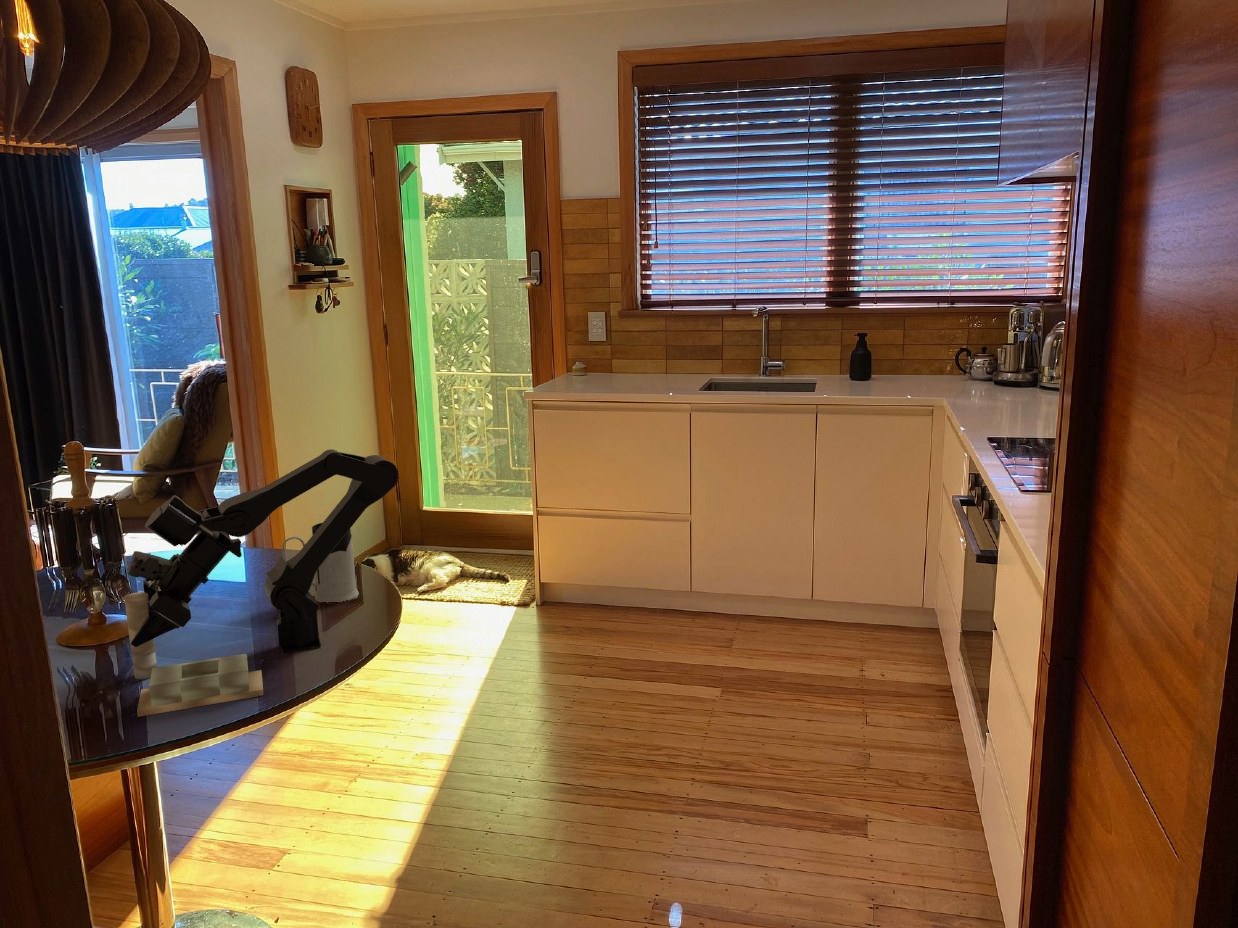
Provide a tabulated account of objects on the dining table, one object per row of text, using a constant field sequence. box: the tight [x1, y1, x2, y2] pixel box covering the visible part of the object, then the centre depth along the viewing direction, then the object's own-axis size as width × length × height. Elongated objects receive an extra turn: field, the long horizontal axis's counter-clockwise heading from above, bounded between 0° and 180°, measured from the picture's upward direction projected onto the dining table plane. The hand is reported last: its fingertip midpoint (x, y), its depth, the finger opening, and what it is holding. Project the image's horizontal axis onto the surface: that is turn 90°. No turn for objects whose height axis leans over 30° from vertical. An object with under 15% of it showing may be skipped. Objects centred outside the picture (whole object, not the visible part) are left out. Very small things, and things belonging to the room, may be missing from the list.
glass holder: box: [281, 522, 360, 604], centre depth 193 cm, size 9×14×15 cm, turn 116°
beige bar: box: [123, 591, 158, 680], centre depth 157 cm, size 4×4×14 cm
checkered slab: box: [136, 653, 264, 717], centre depth 150 cm, size 18×8×4 cm, turn 112°
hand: (131, 636), depth 156 cm, fingers open, 9 cm apart
